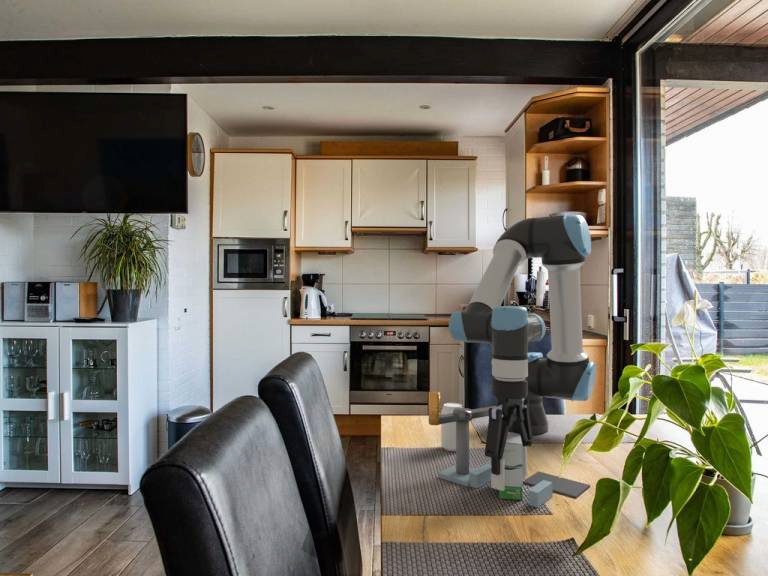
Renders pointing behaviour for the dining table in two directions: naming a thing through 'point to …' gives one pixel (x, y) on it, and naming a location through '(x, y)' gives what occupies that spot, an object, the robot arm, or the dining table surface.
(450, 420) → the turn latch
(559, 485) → the pad
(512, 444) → the ink box
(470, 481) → the stand
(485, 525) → the dining table surface
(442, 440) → the beverage can
